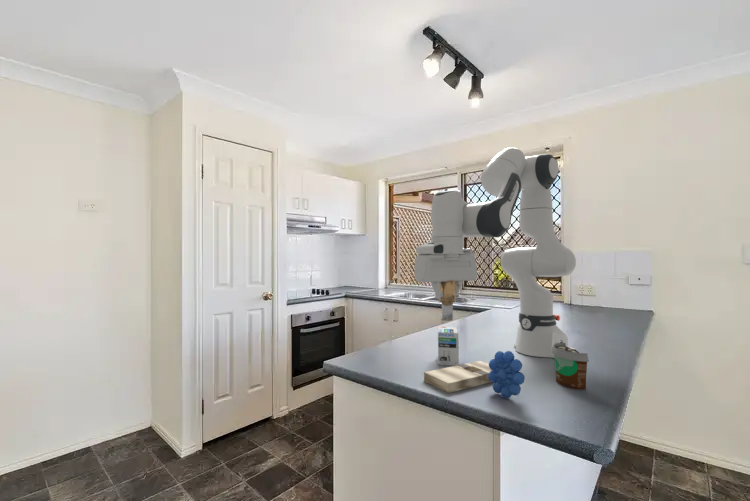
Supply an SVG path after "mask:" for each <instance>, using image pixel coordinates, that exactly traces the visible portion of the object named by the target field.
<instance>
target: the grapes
mask: <svg viewBox="0 0 750 501" xmlns="http://www.w3.org/2000/svg"><path fill="white" fill-rule="evenodd" d="M488 364H489V367H490V369H491V370H493V371H490V372H489V374H488V378H489V380H490V381H491V382H490V383H493V384H492V389H493V391H494V392H495V393H496V394H500V396H502V398H504V399H510V398H511V397H512V396H519V395H520V392H521V390H522V389H521V386H520V385H522V384H524V382H525V380H526V377H525V375H524V374H523V373H522V372H521V370H522V368H523V364H522V361H521V360H519V359H517V358H515V354H514V353H513V352H512V351H510V350H507V351H505V352H503V351H501V350H499V351H497V352H496V353H494V356H493V358H492V359H490V361H489V363H488Z"/></svg>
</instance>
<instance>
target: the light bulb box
mask: <svg viewBox="0 0 750 501" xmlns="http://www.w3.org/2000/svg"><path fill="white" fill-rule="evenodd" d="M459 339H460V338H459V331H458V327H456V326H455V327H454V326H442V325H441V326H438V327H437V351H438V352H437V358H438V359H437V360H438V361H437V364H438V365H439V366H448V367H452V366H457V365H460V362H459V360H460V358H459V357H460V356H459V354H460V353H459V350H460V349H459V348H460V347H459V346H460V345H459V344H460V343H459V342H460V341H459Z"/></svg>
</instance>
